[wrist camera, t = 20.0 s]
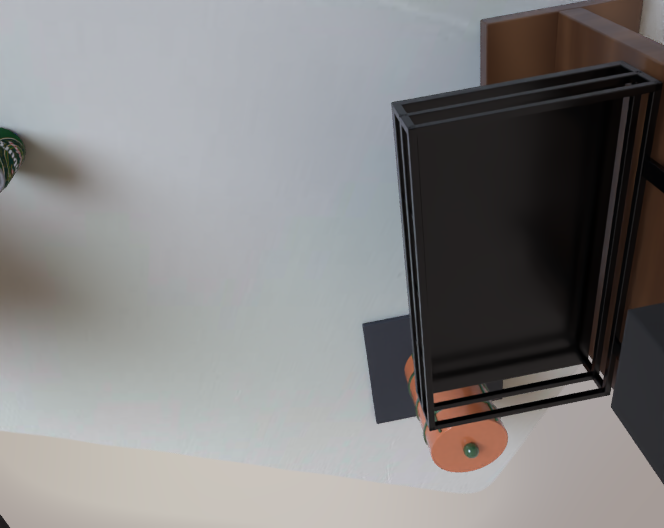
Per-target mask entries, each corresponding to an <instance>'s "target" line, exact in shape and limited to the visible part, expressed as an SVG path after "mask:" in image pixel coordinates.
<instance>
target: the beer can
mask: <svg viewBox="0 0 664 528" xmlns="http://www.w3.org/2000/svg"><path fill="white" fill-rule="evenodd" d="M25 153H26V152H25V146H24V144H23V142H22V140H21V139H20V138H19V137H18V136H17V135H16V134H15V133H13V132H11V131H10V130H7V129H4V128H0V192H1V191H2V190H3V189H4V188H6V187H7V185H8V184H9V182H10V181H11V179H12V178H13V176H14V175H15V173H16V172H17V170H18V169H19V167H20V165H21V164H22V162H23V160H24V158H25Z"/></svg>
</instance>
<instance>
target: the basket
mask: <svg viewBox="0 0 664 528" xmlns="http://www.w3.org/2000/svg"><path fill="white" fill-rule="evenodd" d="M627 83H631V85H629V86H625V84H627ZM662 86H663V82H661V81H659V80H657V79H656V78H654V77H652V76H650V75H648V74H646V73H645V72H643V71H641V70H639V69H637V68H635V67H633V66H632V65H630V64H628V63H626V62H624V61H622V60H621V61H616V62H610V63H605V64H599V65H594V66H589V67H583V68H578V69H572V70H567V71H561V72H556V73H550V74H545V75H539V76H534V77H528V78H523V79H517V80H512V81H507V82H501V83H496V84H490V85H485V86H479V87H474V88H468V89H463V90H457V91H452V92H446V93H441V94H435V95H430V96H425V97H419V98H414V99H408V100H403V101H397V102H392V103H391V105H392V116H393V128H394V140H395V152H396V163H397V175H398V187H399V199H400V211H401V222H402V234H403V246H404V258H405V270H406V281H407V293H408V305H409V317H410V329H411V340H412V352H413V364H414V376H415V388H416V393H417V396H418V399H419V402H420V405H421V408H422V410H423V413H424V416H425V419H426V422H427V425H428V428H429V431H434V430H439V429H444V428H449V427H454V426H459V425H464V424H469V423H474V422H479V421H483V420H488V419H493V418H498V417H503V416H508V415H513V414H518V413H523V412H528V411H533V410H538V409H543V408H548V407H553V406H558V405H562V404H568V403H573V402H577V401H582V400H587V399H592V398H597V397H602V396H607V395H610V391H611V386H612V380H613V374H614V368H615V362H616V358H617V360H618V361H619V357H620V352H621V346H622V343H621V342H620V341H619V339H620V333H621V327H622V321H623V315H624V309H625V303H626V298H627V292H628V286H629V280H630V274H631V268H632V262H633V256H634V251H635V245H636V239H637V233H638V227H639V221H640V215H641V210H642V204H643V198H644V192H645V186H646V180H648V181H649V182H650V183H651V184H653V185H654V186H655V187H656V188H658V189H659V190H660V191H661V192H663V193H664V167H663V166H662V165H661V164H659V163H658V162H657V161H655V160H654V159H653V158H651V151H652V145H653V139H654V133H655V127H656V121H657V116H658V110H659V104H660V98H661V92H662ZM646 93H649V95H648V101H647V108H646V114H645V120H644V127H643V133H642V139H641V146H640V152H639V158H638V164H637V171H636V177H635V183H634V190H633V196H632V202H631V209H630V215H629V221H628V228H627V234H626V240H625V246H624V253H623V259H622V265H621V272H620V278H619V284H618V291H617V297H616V303H615V309H614V316H613V322H612V328H611V335H610V341H609V347H608V354H607V360H606V366H605V373H604V379H602V378H601V377H600V375H599V371H600V365H601V358H602V352H603V345H604V339H605V332H606V325H607V319H608V312H609V306H610V299H611V292H612V286H613V279H614V273H615V266H616V260H617V253H618V246H619V240H620V233H621V227H622V220H623V214H624V207H625V200H626V194H627V187H628V181H629V174H630V167H631V161H632V154H633V148H634V141H635V135H636V128H637V121H638V115H639V108H640V102H641V95H642V94H646ZM624 97H629V105H628V112H627V119H626V126H625V133H624V140H623V147H622V154H621V161H620V168H619V176H618V183H617V190H616V197H615V204H614V211H613V218H612V225H611V232H610V239H609V246H608V254H607V261H606V268H605V275H604V282H603V289H602V296H601V303H600V310H599V317H598V324H597V332H596V339H595V346H594V353H593V360H592V364H591V362H590V361H589V359H588V356H589V349H590V341H591V334H592V327H593V319H594V312H595V304H596V297H597V290H598V282H599V275H600V267H601V260H602V253H603V245H604V238H605V230H606V223H607V216H608V208H609V201H610V193H611V186H612V179H613V171H614V164H615V157H616V149H617V142H618V134H619V127H620V120H621V112H622V105H623V98H624ZM579 364H583V366H584V367H585V368H586V370H587V371H588V372H587V373H581V374H576V375H571V376H566V377H561V378H556V379H551V380H546V381H541V382H536V383H531V384H526V385H521V386H516V387H511V388H506V389H501V390H496V391H491V392H486V393H481V394H476V395H471V396H466V397H461V398H457V399H452V400H447V401H442V402H437V403H434V396H433V394H434V393H439V392H444V391H449V390H454V389H459V388H464V387H469V386H474V385H479V384H484V383H489V382H494V381H499V380H504V379H509V378H514V377H519V376H524V375H529V374H534V373H539V372H544V371H549V370H554V369H559V368H564V367H569V366H574V365H579ZM588 380H594V382H595V383H596V384H597V386H598V388H599V389H594V390H589V391H584V392H579V393H574V394H569V395H564V396H559V397H554V398H549V399H544V400H539V401H534V402H529V403H524V404H520V405H515V406H510V407H505V408H500V409H495V410H490V411H485V412H480V413H475V414H470V415H465V416H460V417H455V418H450V419H445V420H440V421H435V413H434V411H439V410H444V409H449V408H454V407H459V406H464V405H469V404H474V403H479V402H484V401H489V400H493V399H498V398H503V397H508V396H513V395H518V394H523V393H528V392H533V391H538V390H543V389H548V388H553V387H558V386H563V385H568V384H573V383H578V382H583V381H588Z"/></svg>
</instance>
